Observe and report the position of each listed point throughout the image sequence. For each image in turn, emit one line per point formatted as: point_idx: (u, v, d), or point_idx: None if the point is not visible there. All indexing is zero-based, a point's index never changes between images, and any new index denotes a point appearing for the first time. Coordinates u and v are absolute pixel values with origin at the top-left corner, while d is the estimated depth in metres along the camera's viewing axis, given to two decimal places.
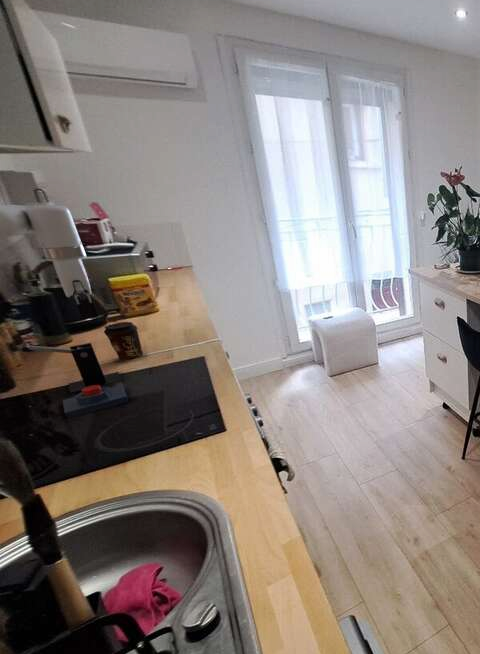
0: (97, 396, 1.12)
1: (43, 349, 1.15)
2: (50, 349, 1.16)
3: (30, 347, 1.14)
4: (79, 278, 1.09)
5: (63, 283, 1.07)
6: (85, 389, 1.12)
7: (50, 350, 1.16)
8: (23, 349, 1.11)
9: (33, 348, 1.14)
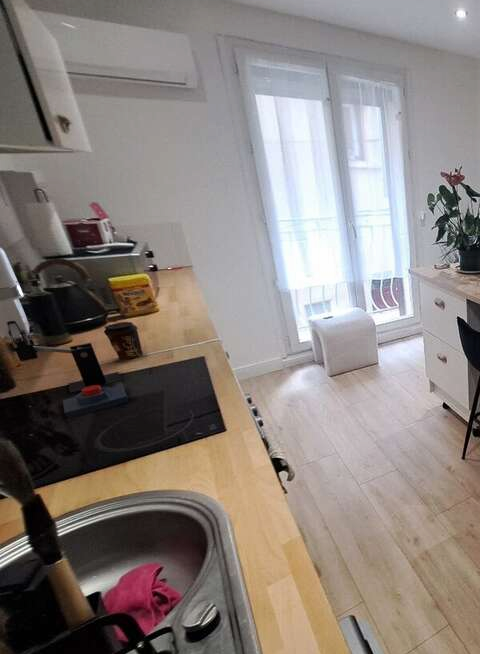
0: (97, 396, 1.12)
1: (43, 349, 1.15)
2: (50, 349, 1.16)
3: None
4: (14, 319, 1.07)
5: None
6: (85, 389, 1.12)
7: (50, 350, 1.16)
8: None
9: None
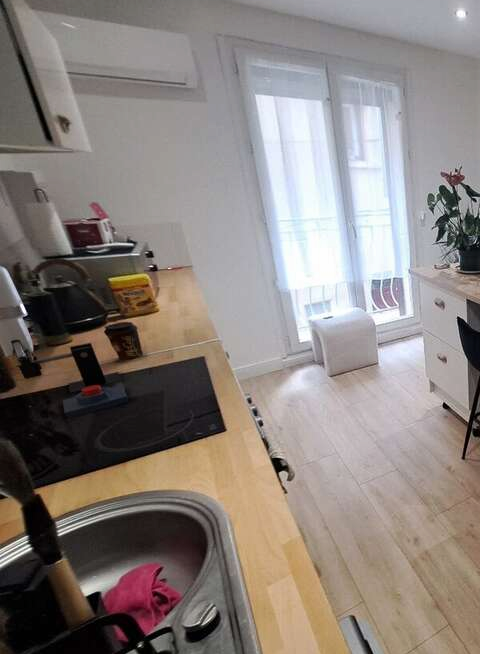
0: (97, 396, 1.12)
1: (44, 360, 1.16)
2: (50, 359, 1.17)
3: None
4: (18, 338, 1.09)
5: (1, 344, 1.07)
6: (85, 389, 1.12)
7: (51, 359, 1.17)
8: None
9: None
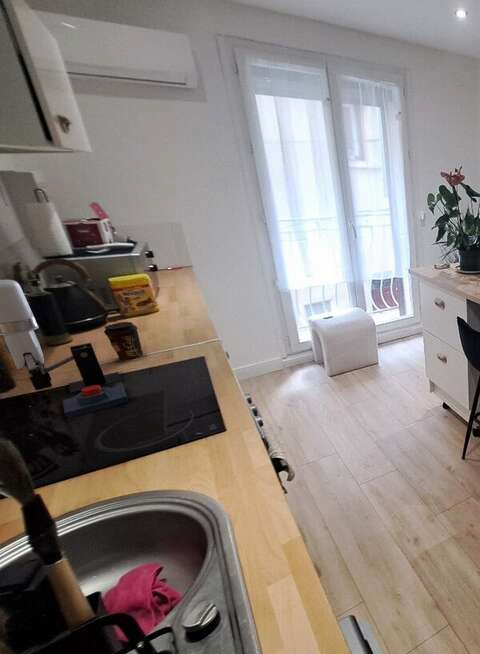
0: (97, 396, 1.12)
1: (50, 368, 1.17)
2: (55, 365, 1.18)
3: None
4: (30, 350, 1.11)
5: (13, 356, 1.09)
6: (85, 389, 1.12)
7: (57, 366, 1.18)
8: None
9: None
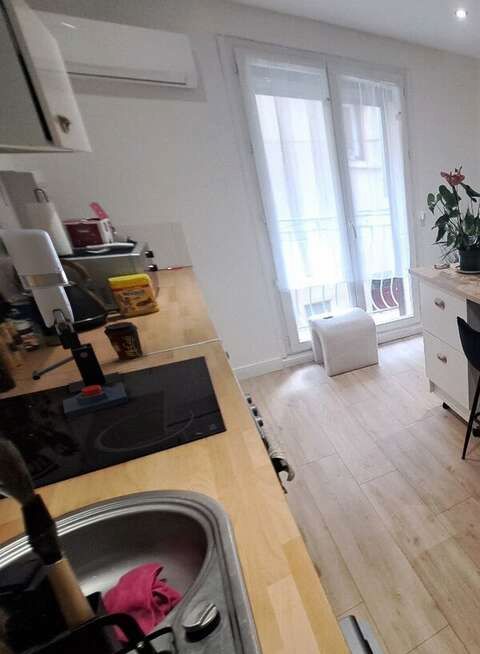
0: (97, 396, 1.12)
1: (50, 368, 1.17)
2: (55, 365, 1.18)
3: (39, 373, 1.16)
4: (60, 307, 1.02)
5: (43, 313, 1.00)
6: (85, 389, 1.12)
7: (57, 366, 1.18)
8: (35, 378, 1.14)
9: (42, 372, 1.16)
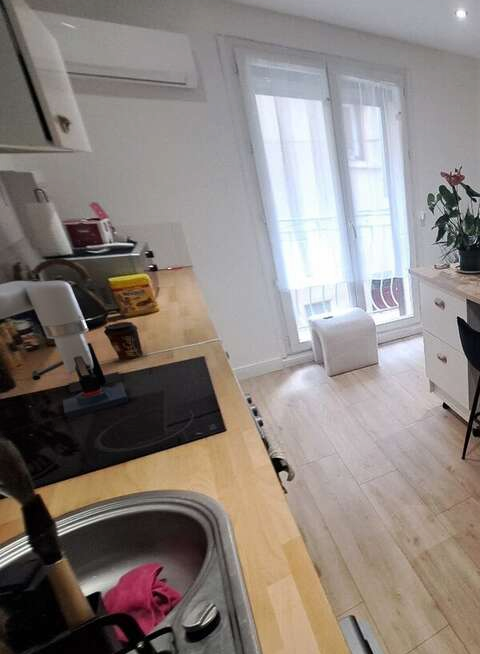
0: (97, 396, 1.12)
1: (50, 368, 1.17)
2: (55, 365, 1.18)
3: (39, 373, 1.16)
4: (81, 354, 1.06)
5: (64, 360, 1.05)
6: None
7: (57, 366, 1.18)
8: (35, 378, 1.14)
9: (42, 372, 1.16)
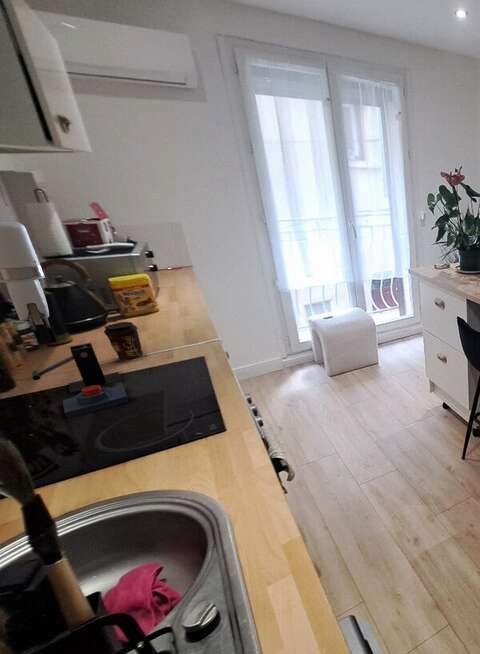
0: (97, 396, 1.12)
1: (50, 368, 1.17)
2: (55, 365, 1.18)
3: (39, 373, 1.16)
4: (34, 301, 1.00)
5: (16, 306, 0.98)
6: (85, 389, 1.12)
7: (57, 366, 1.18)
8: (35, 378, 1.14)
9: (42, 372, 1.16)
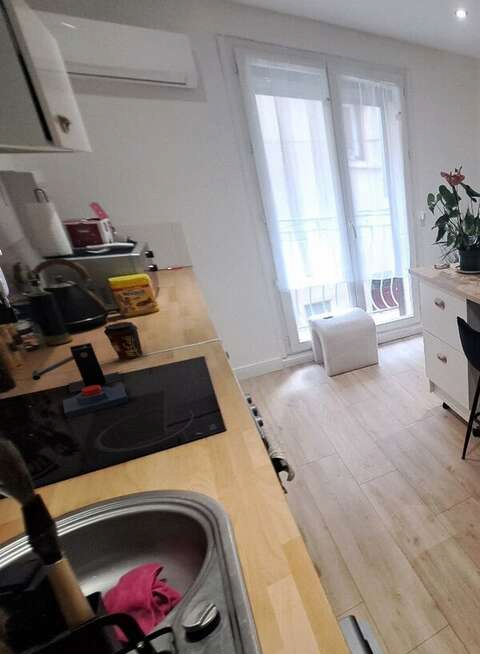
0: (97, 396, 1.12)
1: (50, 368, 1.17)
2: (55, 365, 1.18)
3: (39, 373, 1.16)
4: None
5: None
6: (85, 389, 1.12)
7: (57, 366, 1.18)
8: (35, 378, 1.14)
9: (42, 372, 1.16)
